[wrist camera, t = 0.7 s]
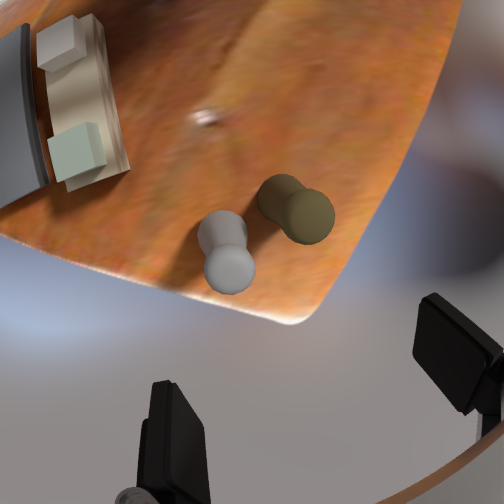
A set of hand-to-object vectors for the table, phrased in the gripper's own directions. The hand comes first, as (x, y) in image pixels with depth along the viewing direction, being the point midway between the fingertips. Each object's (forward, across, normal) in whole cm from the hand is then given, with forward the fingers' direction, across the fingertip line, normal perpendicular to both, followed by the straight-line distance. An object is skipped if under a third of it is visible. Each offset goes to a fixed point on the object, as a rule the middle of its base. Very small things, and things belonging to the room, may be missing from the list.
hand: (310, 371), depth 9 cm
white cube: (+22, +13, -24) cm, 36 cm away
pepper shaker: (+27, -6, +1) cm, 28 cm away
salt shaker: (+27, +2, +2) cm, 27 cm away
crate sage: (+22, +14, -12) cm, 29 cm away
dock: (+27, +28, -22) cm, 44 cm away
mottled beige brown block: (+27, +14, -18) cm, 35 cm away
